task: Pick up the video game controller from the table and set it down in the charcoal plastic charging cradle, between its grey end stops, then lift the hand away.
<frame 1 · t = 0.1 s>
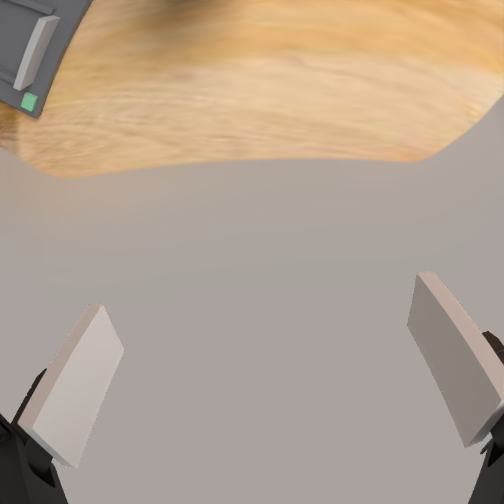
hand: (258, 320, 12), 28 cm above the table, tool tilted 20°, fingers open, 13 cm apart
charging cradle: (10, 32, 20), on the table
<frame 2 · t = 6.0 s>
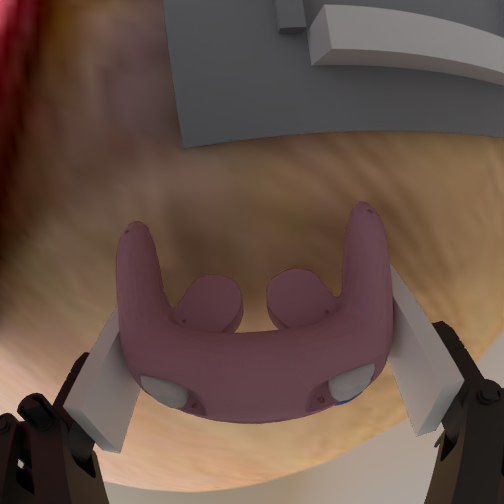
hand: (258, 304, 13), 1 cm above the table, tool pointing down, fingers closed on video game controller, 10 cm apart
video game controller: (254, 269, 13), on the table, touching gripper
when the fingers open (3 cm above the table, at t = 10.8 s): video game controller stays where it is, resting on charging cradle.
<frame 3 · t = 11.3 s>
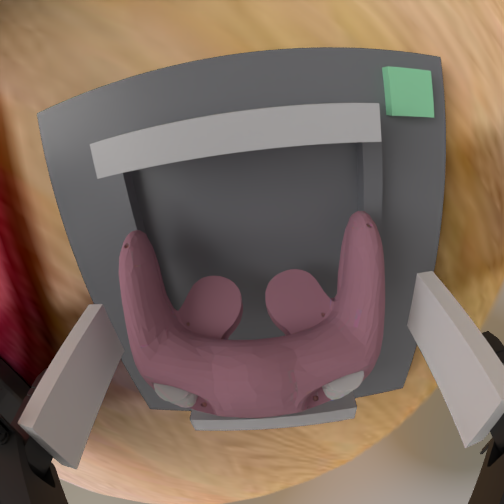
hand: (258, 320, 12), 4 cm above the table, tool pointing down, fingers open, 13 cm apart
charging cradle: (258, 272, 15), on the table
video game controller: (252, 266, 13), point 2 cm above the table, touching charging cradle
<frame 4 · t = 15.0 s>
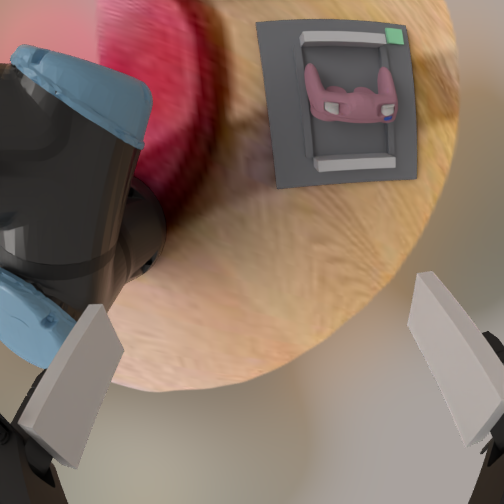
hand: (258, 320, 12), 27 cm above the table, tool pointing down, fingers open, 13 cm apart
charging cradle: (343, 99, 31), on the table
video game controller: (345, 88, 29), point 2 cm above the table, touching charging cradle
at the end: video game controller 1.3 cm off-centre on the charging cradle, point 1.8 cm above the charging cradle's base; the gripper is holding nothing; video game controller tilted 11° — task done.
